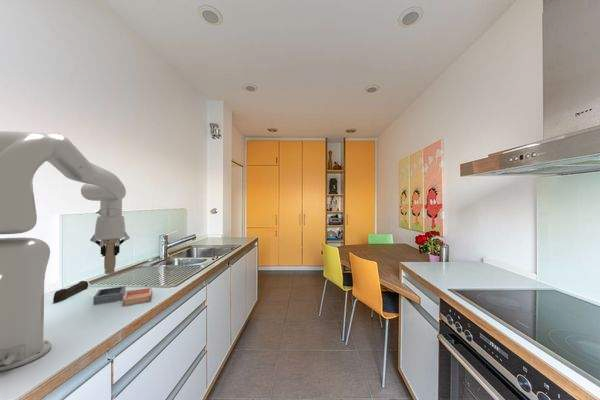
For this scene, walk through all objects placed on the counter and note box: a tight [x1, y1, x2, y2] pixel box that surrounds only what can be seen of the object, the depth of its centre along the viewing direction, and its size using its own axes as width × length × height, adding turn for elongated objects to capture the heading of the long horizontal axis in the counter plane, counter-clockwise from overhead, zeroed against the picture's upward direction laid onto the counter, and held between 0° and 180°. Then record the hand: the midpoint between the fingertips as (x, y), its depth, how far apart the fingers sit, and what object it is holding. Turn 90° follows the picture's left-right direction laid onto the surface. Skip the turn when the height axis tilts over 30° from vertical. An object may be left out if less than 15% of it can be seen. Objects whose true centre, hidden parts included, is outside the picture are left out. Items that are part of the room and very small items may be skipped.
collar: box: [92, 285, 126, 306], centre depth 106 cm, size 10×10×3 cm
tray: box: [121, 287, 153, 307], centre depth 105 cm, size 12×10×2 cm
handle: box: [103, 239, 121, 275], centre depth 106 cm, size 5×6×15 cm
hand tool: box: [52, 280, 89, 304], centre depth 110 cm, size 19×4×5 cm, turn 10°
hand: (110, 255), depth 106 cm, fingers closed on handle, 3 cm apart
